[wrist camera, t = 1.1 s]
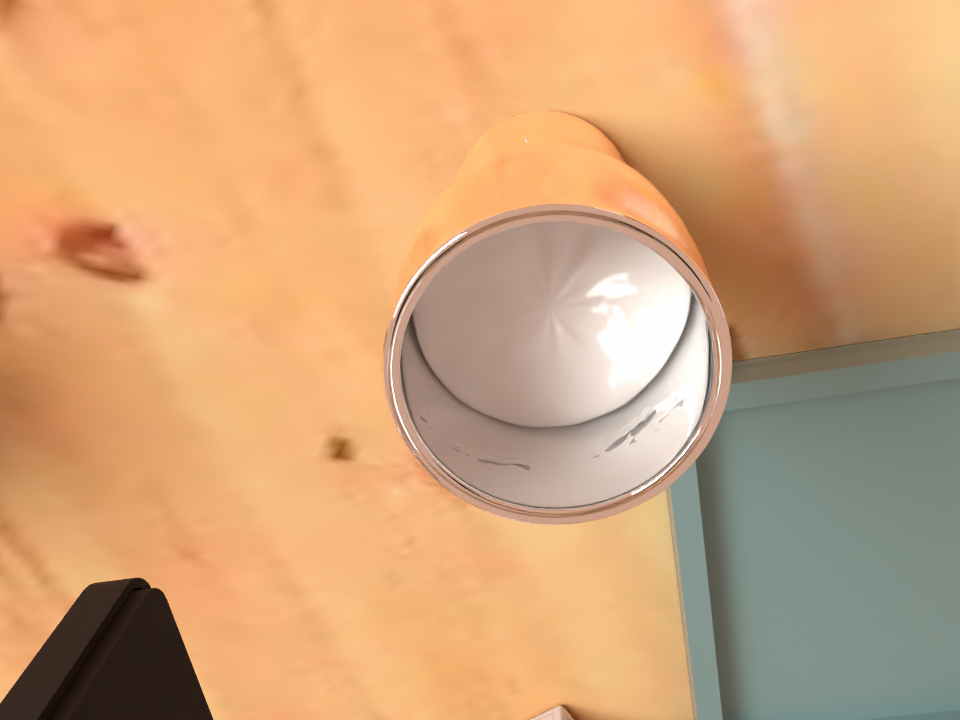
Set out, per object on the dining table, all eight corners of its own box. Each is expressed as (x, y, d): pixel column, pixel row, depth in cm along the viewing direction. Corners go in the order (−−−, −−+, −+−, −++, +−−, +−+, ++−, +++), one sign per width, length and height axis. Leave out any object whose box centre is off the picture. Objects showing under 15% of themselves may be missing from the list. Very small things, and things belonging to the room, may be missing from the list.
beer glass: (686, 169, 30) (825, 323, 16) (570, 332, 32) (603, 590, 18) (510, 53, 29) (495, 112, 15) (403, 232, 31) (306, 426, 17)
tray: (1130, 699, 37) (1158, 732, 36) (696, 742, 39) (704, 776, 38) (1176, 296, 31) (1214, 314, 29) (652, 373, 33) (658, 394, 31)
